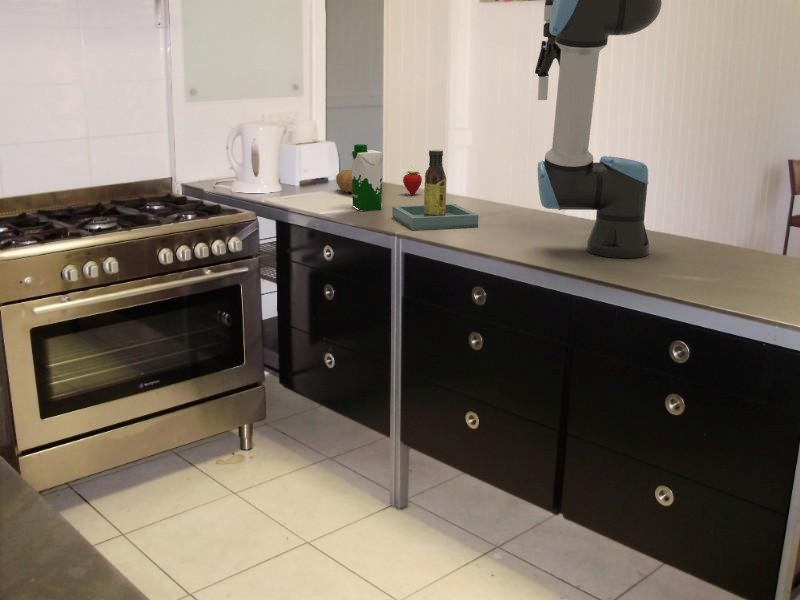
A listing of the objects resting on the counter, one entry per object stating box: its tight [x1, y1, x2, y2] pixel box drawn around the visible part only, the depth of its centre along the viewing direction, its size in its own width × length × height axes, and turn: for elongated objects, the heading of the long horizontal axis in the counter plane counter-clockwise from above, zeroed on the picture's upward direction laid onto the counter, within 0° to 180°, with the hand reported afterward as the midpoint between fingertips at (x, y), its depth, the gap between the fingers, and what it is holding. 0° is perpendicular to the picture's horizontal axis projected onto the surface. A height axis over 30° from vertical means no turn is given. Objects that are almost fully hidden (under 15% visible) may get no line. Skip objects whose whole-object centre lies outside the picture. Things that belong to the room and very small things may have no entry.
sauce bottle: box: [423, 149, 447, 217], centre depth 250 cm, size 7×6×20 cm
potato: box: [336, 169, 352, 193], centre depth 304 cm, size 10×14×8 cm
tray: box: [391, 203, 479, 232], centre depth 252 cm, size 20×20×4 cm
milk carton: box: [350, 143, 384, 211], centre depth 271 cm, size 9×9×20 cm
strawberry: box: [402, 165, 423, 196], centre depth 299 cm, size 6×8×10 cm
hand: (553, 101), depth 245 cm, fingers open, 13 cm apart
